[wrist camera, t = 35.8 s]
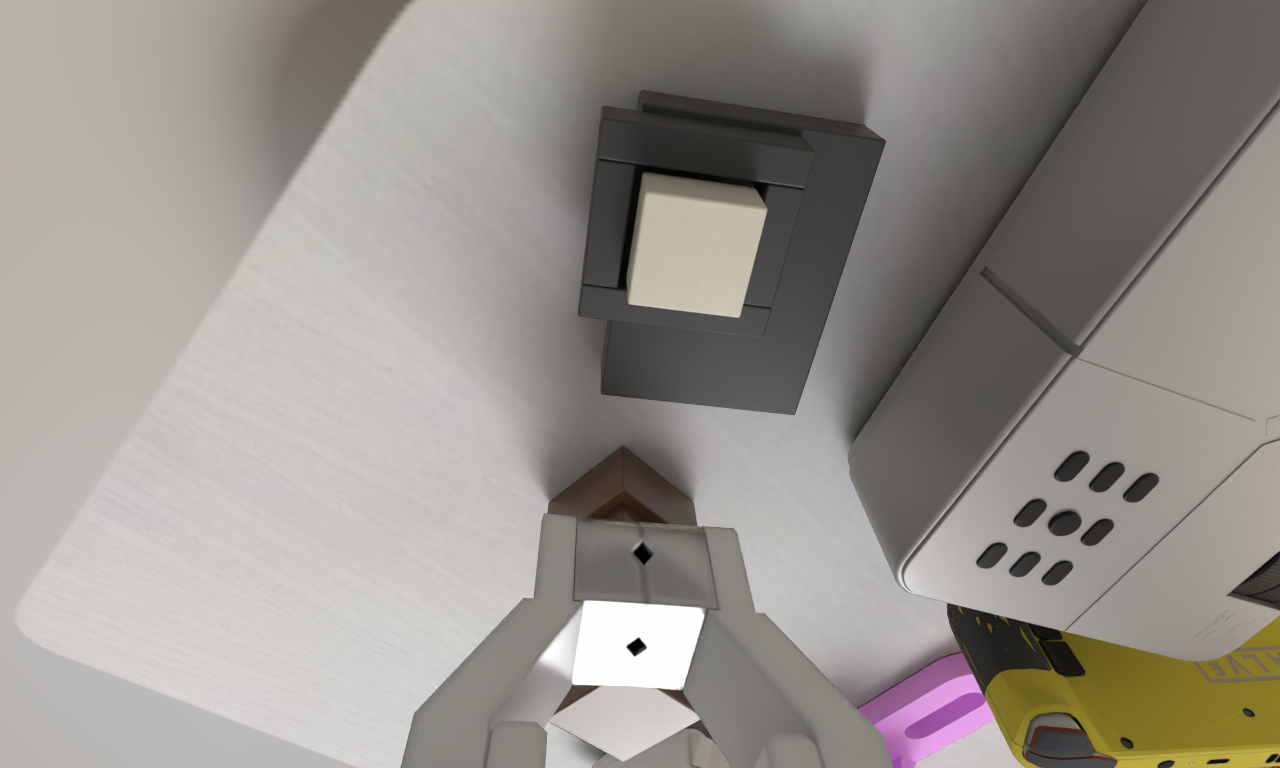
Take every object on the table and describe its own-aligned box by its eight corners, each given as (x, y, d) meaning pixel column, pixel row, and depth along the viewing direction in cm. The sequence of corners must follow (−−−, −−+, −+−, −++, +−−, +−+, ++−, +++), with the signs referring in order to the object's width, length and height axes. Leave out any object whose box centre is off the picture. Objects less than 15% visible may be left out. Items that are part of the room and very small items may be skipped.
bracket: (860, 768, 47) (896, 885, 41) (805, 740, 45) (834, 860, 39) (1025, 675, 42) (1092, 794, 36) (971, 639, 40) (1032, 759, 34)
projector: (827, 461, 32) (881, 594, 26) (1169, -64, 21) (1415, -65, 15) (1108, 541, 36) (1218, 675, 29) (1525, 126, 25) (1850, 193, 18)
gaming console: (924, 609, 38) (1011, 796, 30) (938, 555, 36) (1038, 742, 28) (1380, 583, 38) (1595, 763, 30) (1424, 528, 36) (1669, 706, 28)
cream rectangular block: (625, 278, 23) (627, 305, 21) (642, 170, 21) (645, 190, 19) (730, 291, 23) (740, 319, 22) (756, 186, 22) (768, 208, 20)
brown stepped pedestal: (547, 502, 33) (523, 720, 24) (622, 444, 31) (627, 655, 22) (620, 554, 35) (623, 773, 26) (694, 503, 33) (725, 717, 24)
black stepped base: (571, 362, 29) (566, 418, 26) (603, 83, 23) (601, 108, 20) (783, 386, 30) (805, 443, 27) (866, 125, 24) (907, 155, 21)
